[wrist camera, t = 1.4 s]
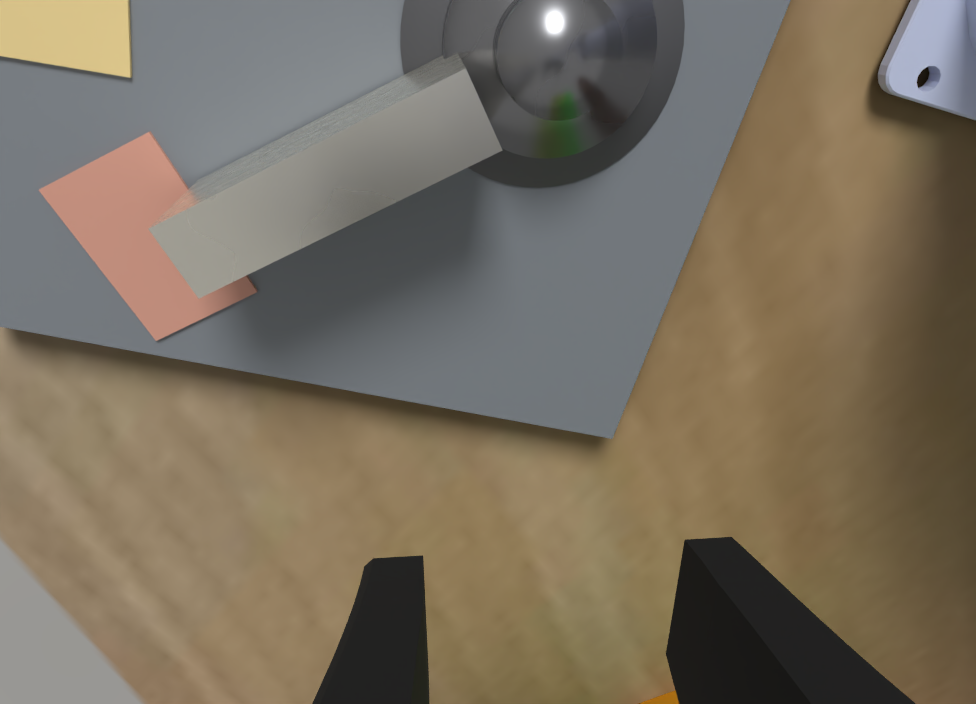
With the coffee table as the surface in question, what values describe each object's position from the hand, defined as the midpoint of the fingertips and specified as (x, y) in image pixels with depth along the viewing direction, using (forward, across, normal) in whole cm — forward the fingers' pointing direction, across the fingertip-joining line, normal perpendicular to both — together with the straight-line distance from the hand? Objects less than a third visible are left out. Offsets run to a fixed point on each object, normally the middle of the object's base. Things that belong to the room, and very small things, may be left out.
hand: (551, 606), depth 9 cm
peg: (+9, +2, -5) cm, 10 cm away
